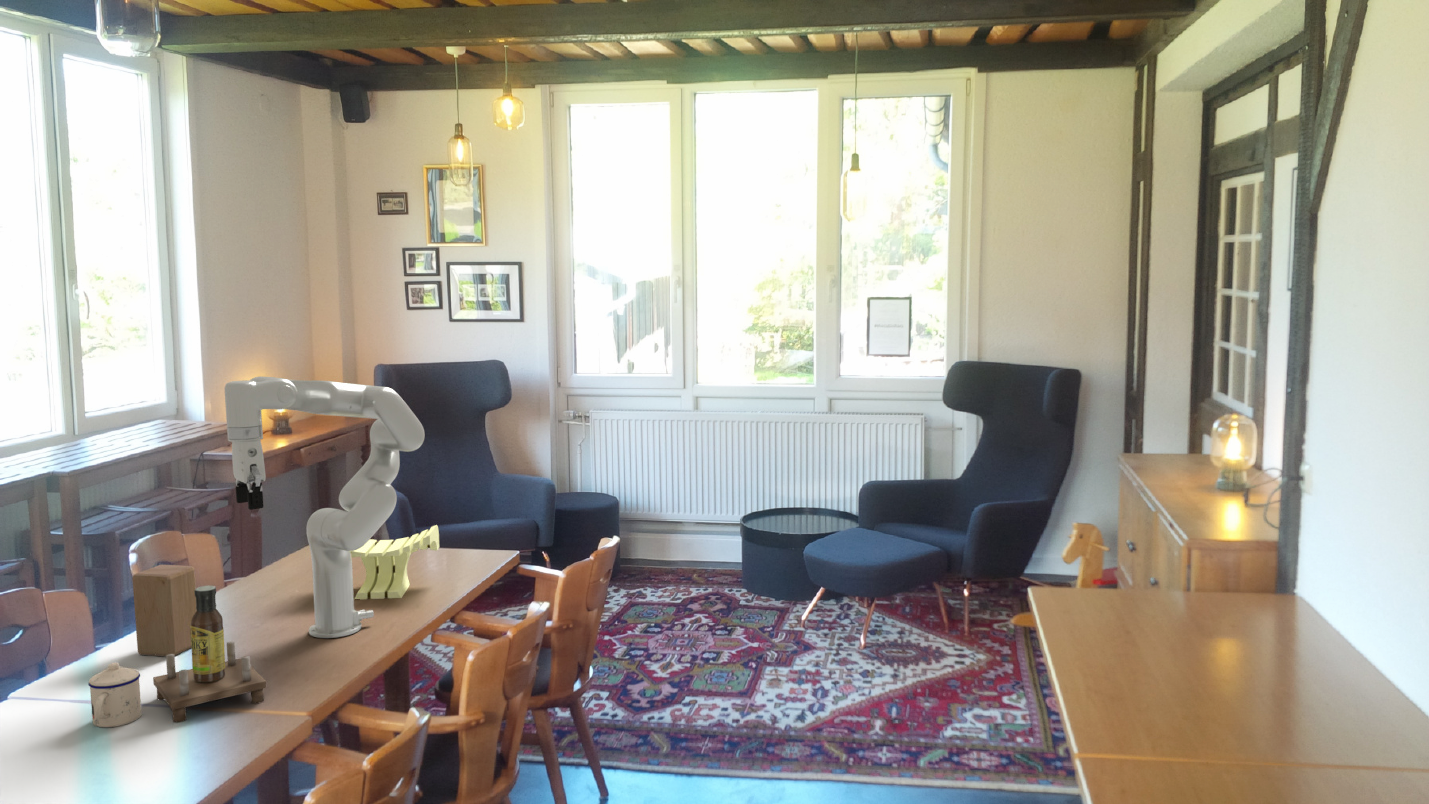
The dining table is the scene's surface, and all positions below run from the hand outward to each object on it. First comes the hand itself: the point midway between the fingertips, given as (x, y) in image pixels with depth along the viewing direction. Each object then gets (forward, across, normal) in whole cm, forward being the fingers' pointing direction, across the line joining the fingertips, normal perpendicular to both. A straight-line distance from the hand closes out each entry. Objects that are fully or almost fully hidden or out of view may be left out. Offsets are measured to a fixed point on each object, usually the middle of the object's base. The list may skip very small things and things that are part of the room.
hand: (249, 505), depth 244 cm
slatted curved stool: (+37, +32, -43) cm, 65 cm away
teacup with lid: (+36, -23, +34) cm, 55 cm away
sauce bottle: (+32, -23, +16) cm, 42 cm away
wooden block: (+36, +17, +16) cm, 43 cm away
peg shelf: (+36, -23, +16) cm, 46 cm away
